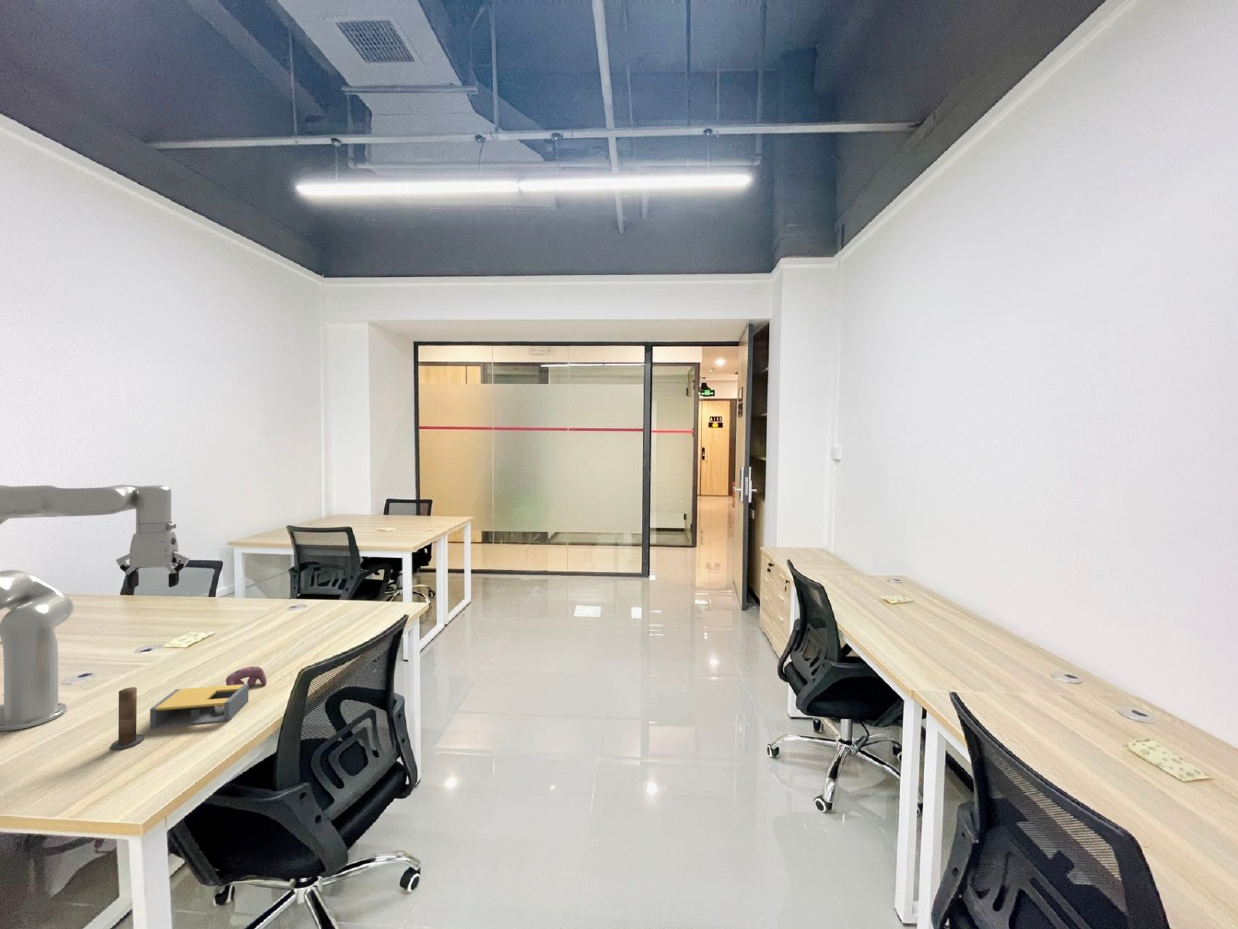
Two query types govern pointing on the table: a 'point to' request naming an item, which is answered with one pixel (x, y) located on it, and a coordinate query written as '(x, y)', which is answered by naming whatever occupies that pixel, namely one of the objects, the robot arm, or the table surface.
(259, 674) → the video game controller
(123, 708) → the brown tall bar piece
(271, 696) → the table surface
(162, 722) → the tan flat boxy piece
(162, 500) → the robot arm
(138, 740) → the rubber pad
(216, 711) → the breaker button
